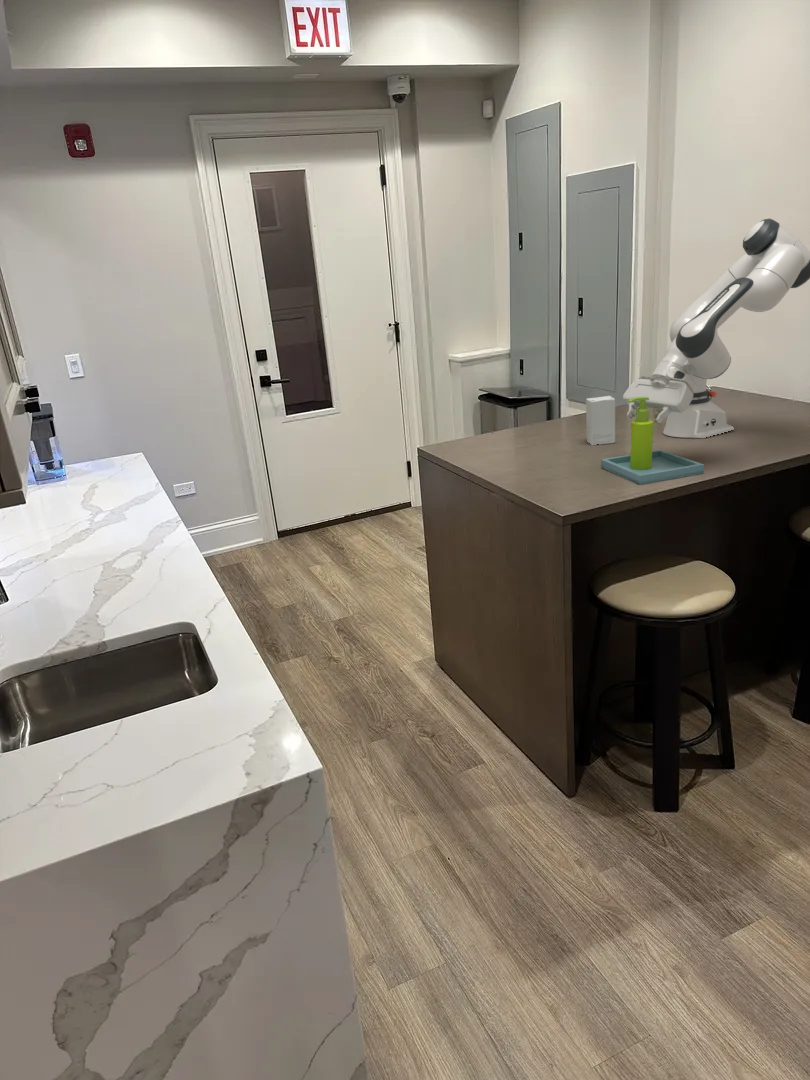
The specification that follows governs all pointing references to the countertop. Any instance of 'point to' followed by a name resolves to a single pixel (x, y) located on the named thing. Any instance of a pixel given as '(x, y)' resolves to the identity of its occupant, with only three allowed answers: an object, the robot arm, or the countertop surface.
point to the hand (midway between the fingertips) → (642, 419)
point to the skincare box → (600, 420)
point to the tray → (654, 467)
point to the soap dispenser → (641, 437)
